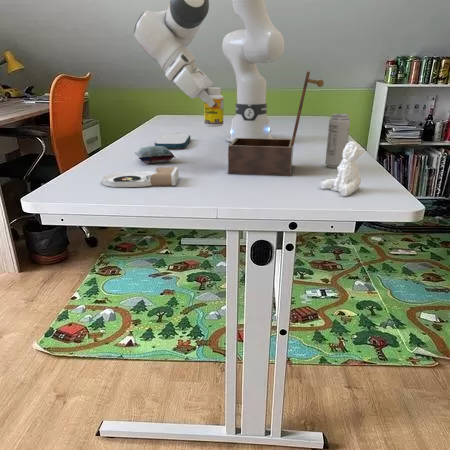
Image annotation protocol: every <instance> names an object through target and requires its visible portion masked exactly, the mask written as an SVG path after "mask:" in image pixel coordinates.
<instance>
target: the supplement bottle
mask: <svg viewBox="0 0 450 450" xmlns="http://www.w3.org/2000/svg"><path fill="white" fill-rule="evenodd" d="M221 90H222V89H221V87H217V86H215V87H214V86H213V87H209V88H207V94H208V95H209V96H210V97H211V98H212V99H213V100H214V101H215V105H214V106H213V107H209V105H208V104H207V103H205V102H204V101H203V115H204V116H203V119H204V121H203V122H204V125H205V127H211V128H212V127H213V128H214V127H215V128H216V127H218V128H219V127H222V126H223V125H224V95H222V94H221V92H222V91H221Z"/></svg>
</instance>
